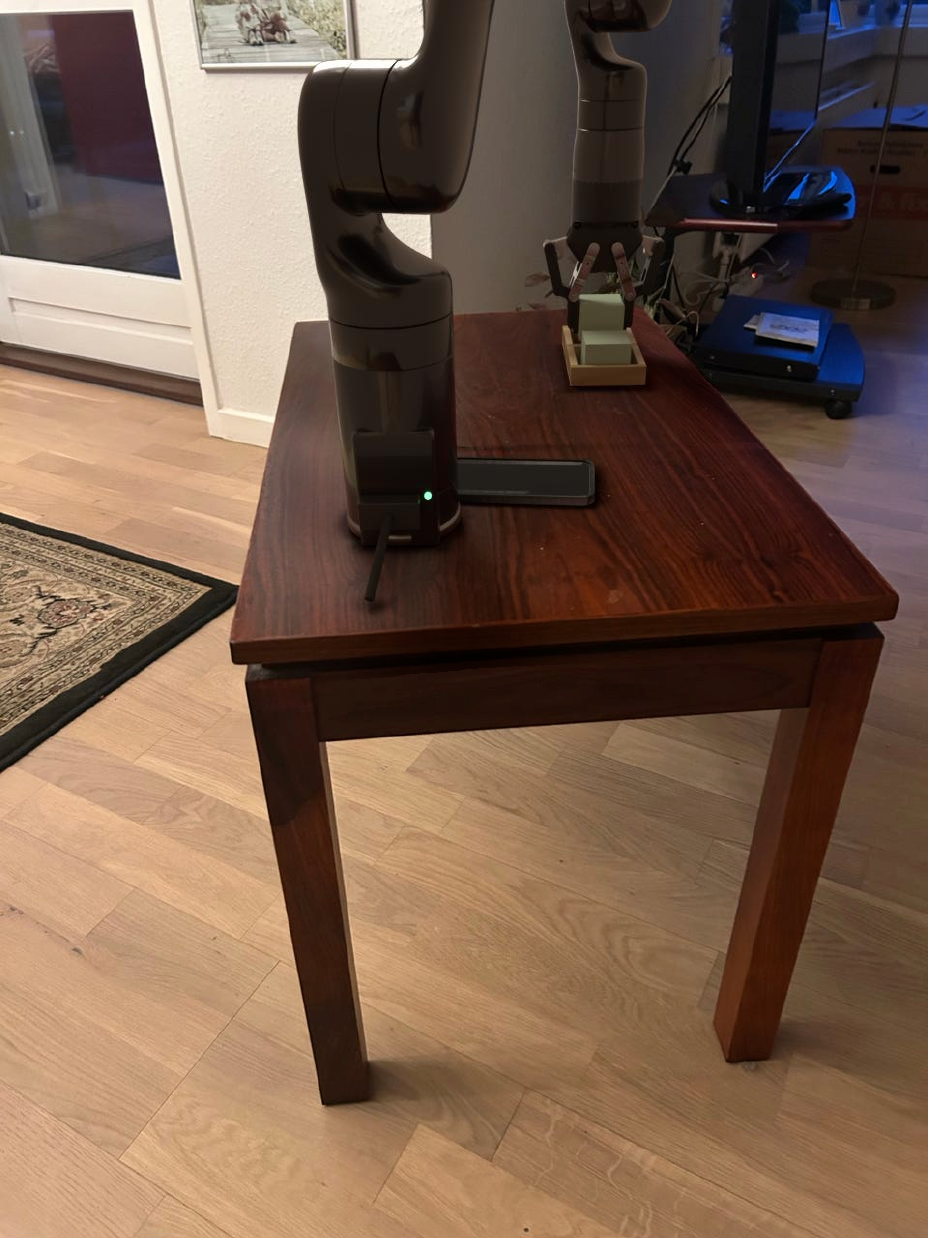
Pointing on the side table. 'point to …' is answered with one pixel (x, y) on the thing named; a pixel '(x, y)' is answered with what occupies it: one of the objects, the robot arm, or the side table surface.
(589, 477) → the phone
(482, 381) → the side table surface
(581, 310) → the green block
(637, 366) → the holder
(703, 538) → the side table surface
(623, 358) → the green foam block
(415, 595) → the side table surface
